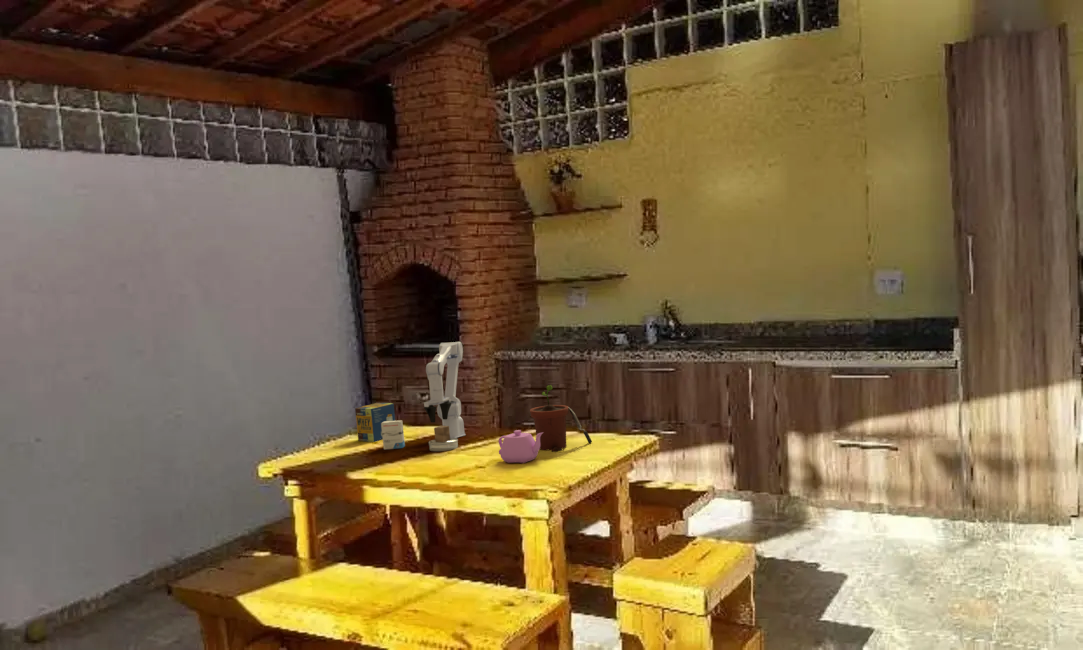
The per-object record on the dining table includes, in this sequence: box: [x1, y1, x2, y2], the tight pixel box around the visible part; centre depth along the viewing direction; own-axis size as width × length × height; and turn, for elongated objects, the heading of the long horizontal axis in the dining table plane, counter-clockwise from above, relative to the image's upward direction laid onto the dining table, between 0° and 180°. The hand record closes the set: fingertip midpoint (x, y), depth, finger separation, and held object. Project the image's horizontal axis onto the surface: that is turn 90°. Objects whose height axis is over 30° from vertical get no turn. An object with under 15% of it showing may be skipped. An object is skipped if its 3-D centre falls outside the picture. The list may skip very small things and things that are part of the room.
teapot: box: [498, 429, 544, 464], centre depth 339 cm, size 20×13×12 cm, turn 65°
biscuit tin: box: [428, 438, 459, 452], centre depth 377 cm, size 12×12×4 cm
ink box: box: [381, 419, 406, 450], centre depth 386 cm, size 8×5×12 cm, turn 84°
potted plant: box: [529, 384, 593, 453], centre depth 359 cm, size 18×22×25 cm
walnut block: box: [433, 425, 450, 442], centre depth 377 cm, size 4×4×6 cm
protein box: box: [354, 402, 396, 443], centre depth 413 cm, size 10×15×16 cm
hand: (439, 420), depth 385 cm, fingers open, 7 cm apart
